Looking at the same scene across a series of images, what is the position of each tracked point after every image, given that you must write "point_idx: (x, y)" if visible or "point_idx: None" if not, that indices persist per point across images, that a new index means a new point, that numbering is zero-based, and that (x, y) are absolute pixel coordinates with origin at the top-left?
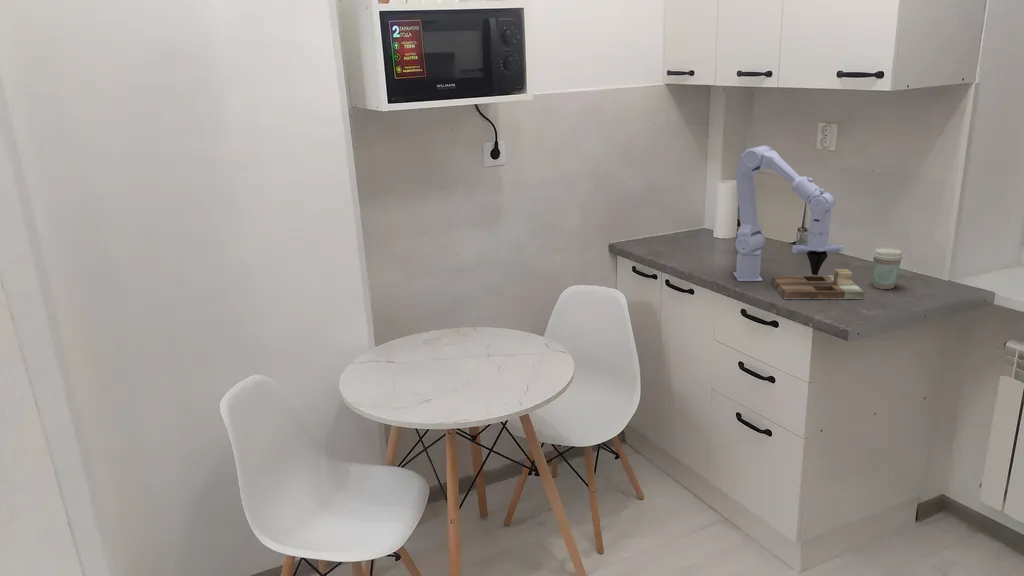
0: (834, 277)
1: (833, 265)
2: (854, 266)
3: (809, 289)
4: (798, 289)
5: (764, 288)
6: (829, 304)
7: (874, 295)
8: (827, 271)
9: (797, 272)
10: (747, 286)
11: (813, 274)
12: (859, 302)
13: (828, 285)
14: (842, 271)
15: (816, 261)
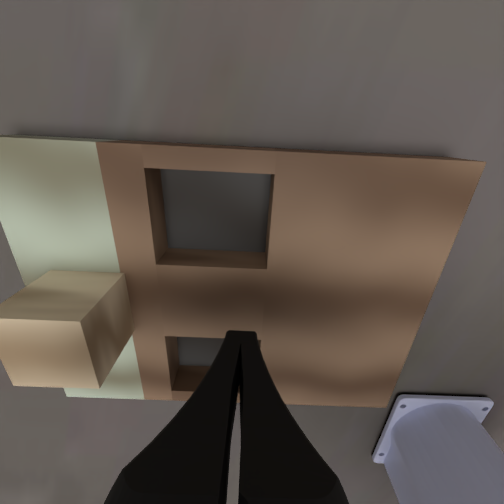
0: (121, 338)
1: (101, 495)
2: (39, 487)
3: (308, 206)
4: (375, 209)
5: (438, 325)
6: (229, 45)
7: None
8: (129, 460)
9: (230, 457)
10: (492, 349)
11: (255, 333)
12: (39, 80)
13: (174, 271)
14: (50, 349)
15: (250, 422)
